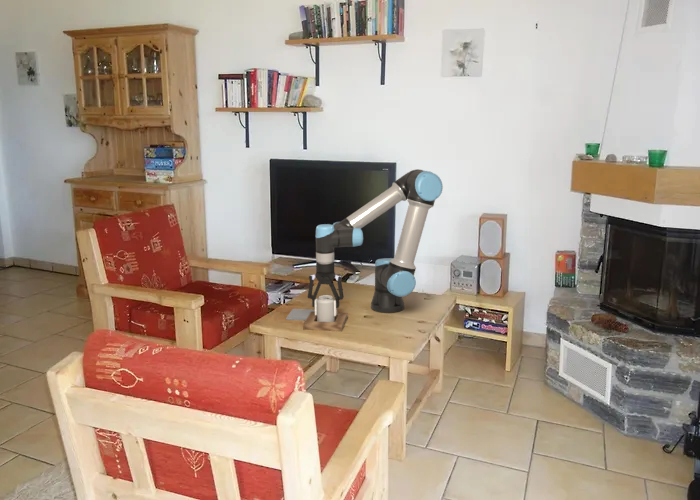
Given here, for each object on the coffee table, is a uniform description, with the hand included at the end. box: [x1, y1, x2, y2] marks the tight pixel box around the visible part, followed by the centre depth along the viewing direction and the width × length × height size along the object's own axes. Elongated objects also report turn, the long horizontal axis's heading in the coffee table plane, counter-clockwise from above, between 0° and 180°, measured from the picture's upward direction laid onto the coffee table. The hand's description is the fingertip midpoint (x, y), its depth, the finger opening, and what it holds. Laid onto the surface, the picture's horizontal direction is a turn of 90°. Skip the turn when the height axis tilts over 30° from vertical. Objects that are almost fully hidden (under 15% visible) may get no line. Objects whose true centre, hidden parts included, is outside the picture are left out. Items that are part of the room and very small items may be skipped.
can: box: [317, 294, 335, 322], centre depth 249 cm, size 8×8×12 cm
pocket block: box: [302, 311, 349, 332], centre depth 250 cm, size 16×16×2 cm
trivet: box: [286, 308, 315, 321], centre depth 260 cm, size 12×12×1 cm
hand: (325, 314), depth 249 cm, fingers closed on can, 7 cm apart
